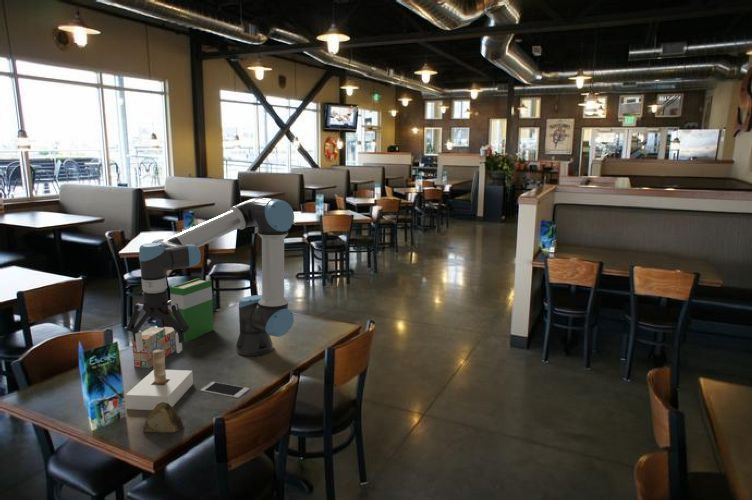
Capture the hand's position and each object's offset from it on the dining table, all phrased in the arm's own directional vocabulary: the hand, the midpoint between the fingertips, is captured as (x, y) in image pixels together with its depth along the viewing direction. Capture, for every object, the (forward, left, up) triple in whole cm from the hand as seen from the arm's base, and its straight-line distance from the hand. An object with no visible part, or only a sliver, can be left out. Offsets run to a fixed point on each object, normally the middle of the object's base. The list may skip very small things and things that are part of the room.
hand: (159, 351), depth 177 cm
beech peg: (0, 0, -16) cm, 16 cm away
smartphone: (-20, -6, -17) cm, 27 cm away
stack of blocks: (+16, -32, -16) cm, 40 cm away
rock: (-10, +21, -16) cm, 29 cm away
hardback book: (+12, -59, -16) cm, 62 cm away
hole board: (0, 0, -16) cm, 16 cm away
